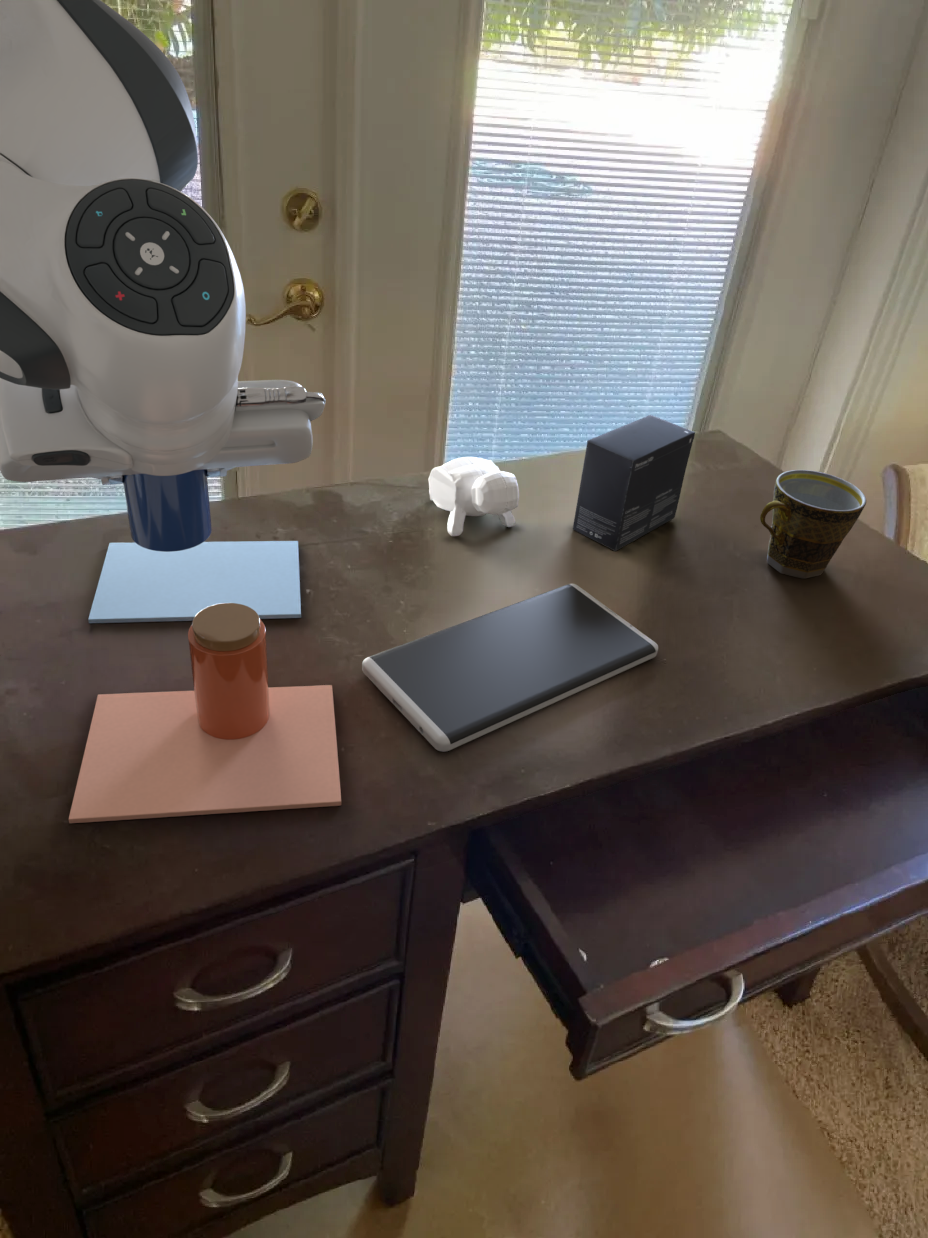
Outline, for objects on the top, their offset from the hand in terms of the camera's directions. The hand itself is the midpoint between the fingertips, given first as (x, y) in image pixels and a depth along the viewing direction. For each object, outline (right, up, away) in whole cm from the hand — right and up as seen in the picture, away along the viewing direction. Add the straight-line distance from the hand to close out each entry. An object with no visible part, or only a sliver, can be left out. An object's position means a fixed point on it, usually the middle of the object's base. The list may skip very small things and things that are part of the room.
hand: (163, 470), depth 66 cm
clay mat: (+2, -22, +7) cm, 23 cm away
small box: (+42, +1, +44) cm, 61 cm away
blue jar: (0, -4, +2) cm, 5 cm away
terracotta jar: (+3, -19, +9) cm, 22 cm away
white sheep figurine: (+24, +1, +41) cm, 48 cm away
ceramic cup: (+61, -5, +40) cm, 73 cm away
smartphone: (+27, -16, +19) cm, 37 cm away
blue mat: (-5, -7, +26) cm, 27 cm away
